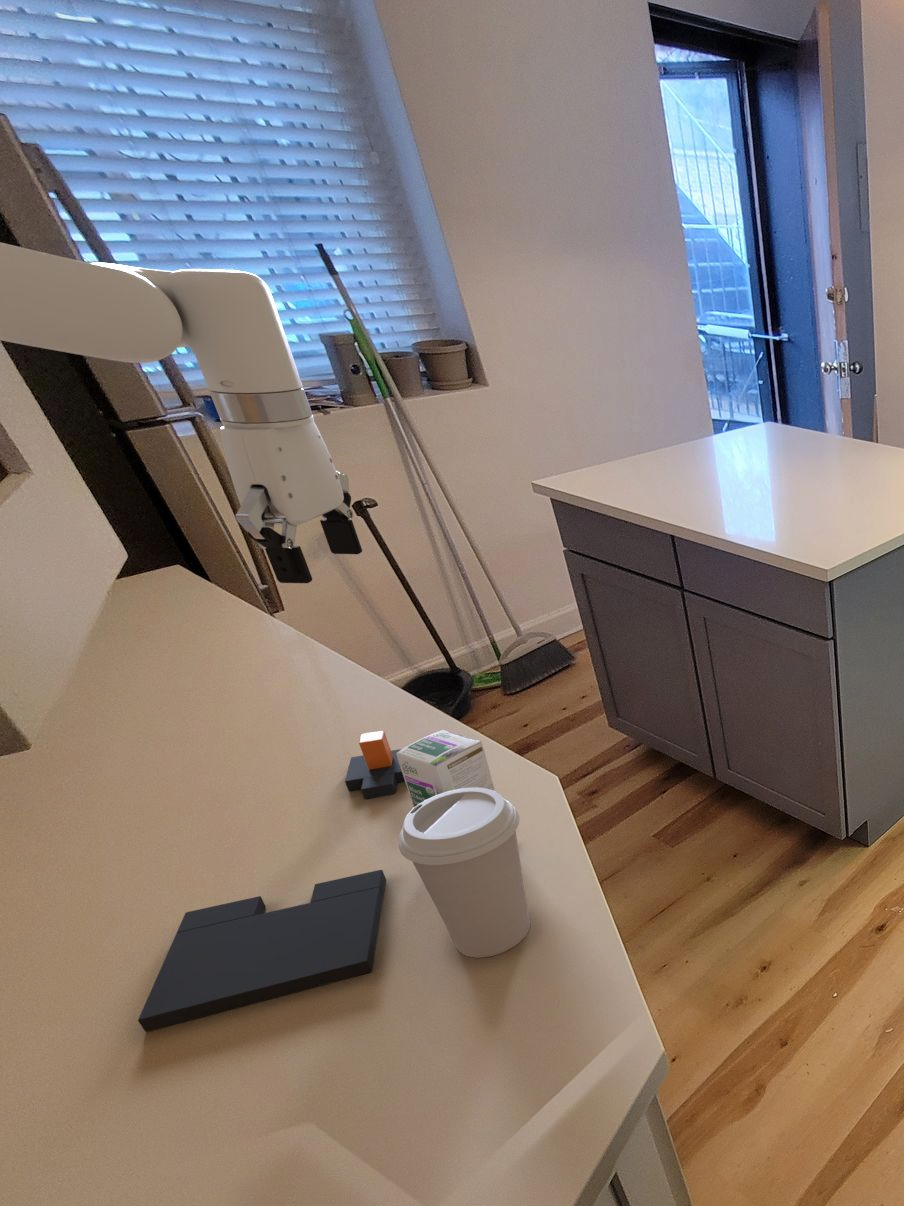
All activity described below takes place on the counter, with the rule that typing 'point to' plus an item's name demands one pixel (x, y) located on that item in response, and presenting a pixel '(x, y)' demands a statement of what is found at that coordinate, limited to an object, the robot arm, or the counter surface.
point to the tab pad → (373, 777)
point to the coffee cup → (470, 867)
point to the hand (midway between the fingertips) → (322, 567)
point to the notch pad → (266, 950)
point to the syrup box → (443, 765)
